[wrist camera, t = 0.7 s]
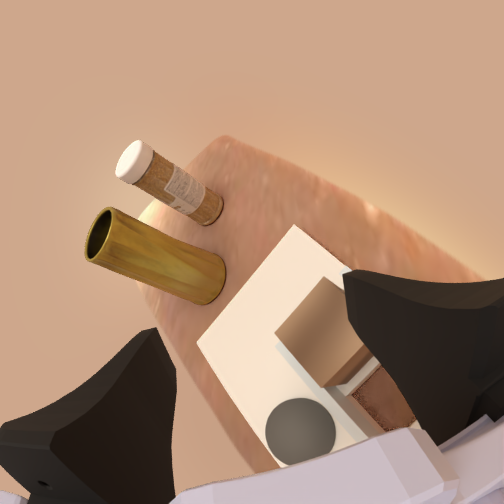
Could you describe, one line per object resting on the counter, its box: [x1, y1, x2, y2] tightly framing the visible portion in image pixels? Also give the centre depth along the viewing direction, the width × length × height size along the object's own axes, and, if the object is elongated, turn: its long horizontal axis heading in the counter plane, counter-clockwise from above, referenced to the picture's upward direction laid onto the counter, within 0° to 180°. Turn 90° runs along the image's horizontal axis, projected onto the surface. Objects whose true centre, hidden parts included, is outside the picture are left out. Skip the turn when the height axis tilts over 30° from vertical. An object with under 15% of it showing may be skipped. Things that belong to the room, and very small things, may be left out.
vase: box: [85, 207, 225, 305], centre depth 29 cm, size 6×6×14 cm
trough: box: [275, 265, 379, 442], centre depth 18 cm, size 14×8×2 cm, turn 41°
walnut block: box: [274, 276, 374, 388], centre depth 20 cm, size 5×5×5 cm
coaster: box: [265, 398, 336, 466], centre depth 21 cm, size 6×6×1 cm
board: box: [196, 225, 422, 468], centre depth 22 cm, size 23×16×2 cm
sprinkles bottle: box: [116, 140, 223, 225], centre depth 34 cm, size 5×5×14 cm
